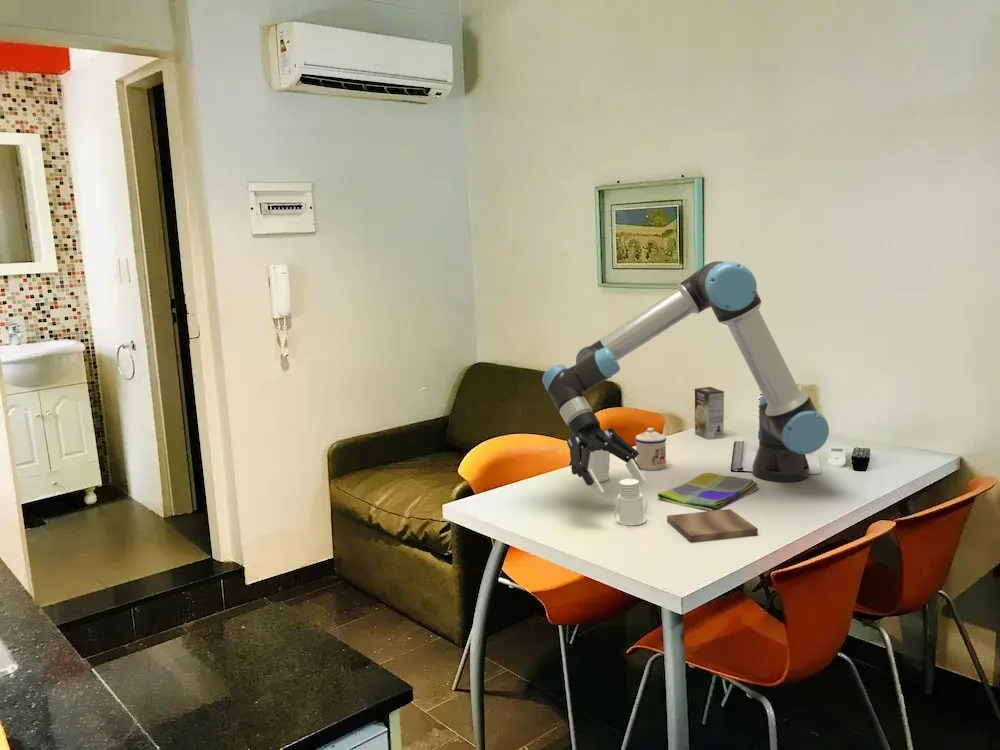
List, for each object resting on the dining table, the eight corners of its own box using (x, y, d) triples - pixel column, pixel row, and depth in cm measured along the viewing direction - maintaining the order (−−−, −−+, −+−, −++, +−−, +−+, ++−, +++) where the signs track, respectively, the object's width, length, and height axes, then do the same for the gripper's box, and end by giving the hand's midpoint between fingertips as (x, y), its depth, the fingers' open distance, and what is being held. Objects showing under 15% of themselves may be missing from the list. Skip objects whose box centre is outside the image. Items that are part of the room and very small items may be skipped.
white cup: (610, 474, 232) (609, 441, 230) (611, 482, 224) (610, 448, 223) (582, 475, 233) (581, 441, 231) (582, 483, 225) (581, 448, 224)
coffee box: (693, 434, 275) (693, 388, 273) (710, 432, 277) (710, 386, 274) (707, 439, 267) (707, 392, 264) (724, 437, 268) (724, 390, 266)
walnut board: (729, 515, 194) (729, 509, 194) (757, 534, 180) (757, 528, 180) (667, 521, 192) (667, 515, 191) (690, 542, 178) (690, 535, 178)
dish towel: (653, 500, 209) (653, 490, 208) (703, 478, 226) (703, 469, 225) (713, 514, 196) (713, 503, 196) (761, 490, 213) (761, 480, 213)
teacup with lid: (656, 472, 232) (655, 433, 230) (629, 467, 238) (628, 429, 236) (677, 463, 241) (676, 425, 239) (651, 458, 247) (650, 421, 245)
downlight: (642, 514, 197) (640, 475, 196) (652, 523, 190) (650, 483, 189) (611, 519, 196) (608, 480, 194) (620, 528, 189) (617, 488, 188)
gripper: (610, 419, 213) (651, 486, 203) (535, 435, 199) (575, 508, 189) (623, 403, 207) (666, 471, 198) (547, 418, 194) (589, 491, 184)
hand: (621, 489), depth 193 cm, fingers open, 13 cm apart
